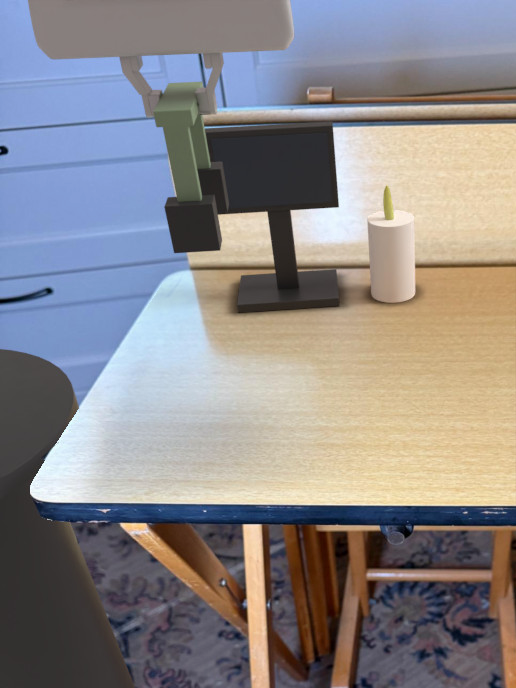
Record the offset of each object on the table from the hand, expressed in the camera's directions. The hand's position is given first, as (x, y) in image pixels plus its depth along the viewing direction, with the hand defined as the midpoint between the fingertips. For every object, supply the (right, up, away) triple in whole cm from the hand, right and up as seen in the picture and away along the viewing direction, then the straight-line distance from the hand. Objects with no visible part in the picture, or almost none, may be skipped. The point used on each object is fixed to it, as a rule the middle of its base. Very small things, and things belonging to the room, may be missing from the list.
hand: (182, 114), depth 68 cm
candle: (+18, -2, +46) cm, 49 cm away
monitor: (+3, -1, +46) cm, 46 cm away
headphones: (0, -7, +6) cm, 10 cm away
